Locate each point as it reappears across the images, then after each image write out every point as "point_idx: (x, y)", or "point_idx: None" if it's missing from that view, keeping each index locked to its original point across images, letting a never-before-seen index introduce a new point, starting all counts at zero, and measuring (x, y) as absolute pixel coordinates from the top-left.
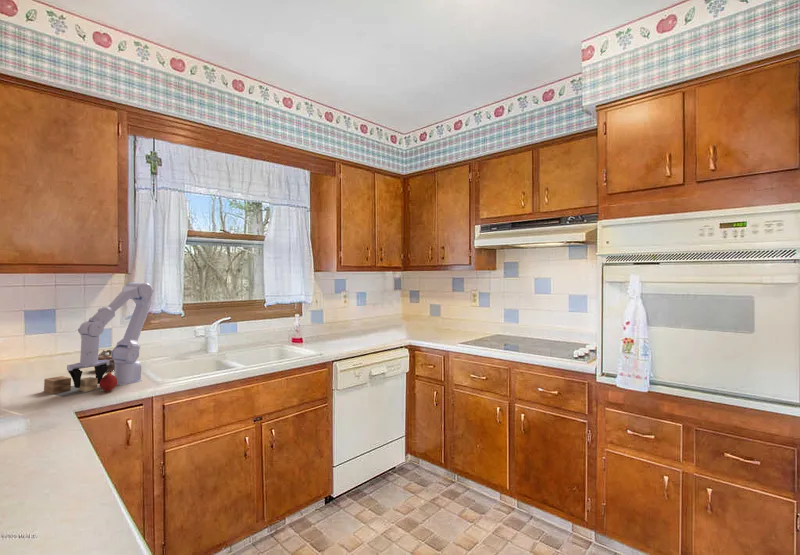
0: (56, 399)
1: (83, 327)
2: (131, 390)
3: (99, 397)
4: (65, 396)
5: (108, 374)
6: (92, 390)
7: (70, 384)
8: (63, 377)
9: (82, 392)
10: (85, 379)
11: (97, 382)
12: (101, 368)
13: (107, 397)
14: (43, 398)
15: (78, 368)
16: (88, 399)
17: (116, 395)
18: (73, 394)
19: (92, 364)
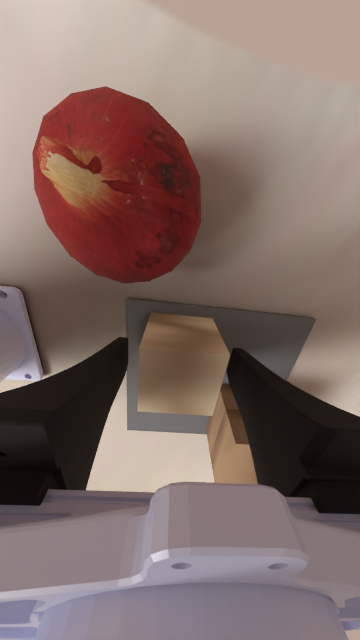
0: (337, 321)
1: None
2: (11, 84)
3: (262, 135)
4: (307, 318)
5: (113, 159)
6: (176, 313)
7: (227, 408)
8: (239, 471)
9: (224, 319)
10: (207, 378)
11: (145, 330)
12: (66, 421)
13: (246, 60)
14: (327, 372)
15: (333, 504)
16: (320, 160)
17: (174, 43)
18: (267, 320)
19: (298, 538)
